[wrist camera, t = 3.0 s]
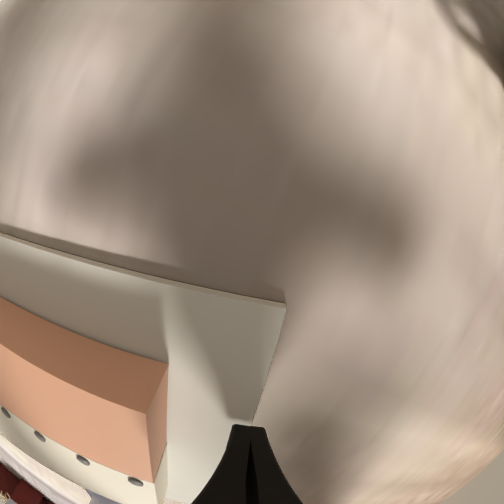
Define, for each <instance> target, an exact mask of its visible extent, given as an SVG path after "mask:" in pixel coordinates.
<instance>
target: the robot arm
mask: <svg viewBox="0 0 504 504" xmlns="http://www.w3.org/2000/svg"><path fill="white" fill-rule="evenodd" d="M85 489H86V488H85ZM86 491H87V492H88V494H89V495H90V497H91V498H92V499H91V501H90V503H89V504H121V503H118V502H116V501H113V500H111V499H108V498H106V497H103V496H101V495H99V494H97V493H94V492H92V491H90V490H88V489H86ZM6 504H17V503H16V502H14V501H13V500H12V499H10V498H9V499H8V500H7V502H6ZM191 504H303V503H302V502H301V501H300V499H299V498H298V497H297V495H296V494H295V492H294V491H293V489H292V488H291V486H290V485H289V483H288V481H287V480H286V478H285V476H284V475H283V473H282V471H281V469H280V467H279V465H278V463H277V460H276V458H275V456H274V454H273V451H272V449H271V446H270V443H269V441H268V438H267V434H266V431H265V429H264V428H262V427H254V426H246V425H240V424H234V425H232V428H231V432H230V435H229V439H228V442H227V446H226V450H225V452H224V454H223V457H222V459H221V461H220V463H219V464H218V466H217V468H216V470H215V471H214V473H213V475H212V476H211V478H210V479H209V481H208V482H207V484H206V485H205V487H204V488H203V489H202V491H201V492H200V493H199V495H198V496H197V497H196V498H195V500H194V501H193V502H192V503H191Z"/></svg>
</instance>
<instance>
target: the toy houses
mask: <svg viewBox="0 0 504 504" xmlns="http://www.w3.org/2000/svg"><path fill="white" fill-rule="evenodd" d="M0 494H2V495H1V496H4V497H5V498H4V500H5V499H6V498H7V500H8V499H9V498H10V499H12V500H13V501H14V502H16V503H17V504H53V503H52V502H50V501H49V502H48V501H47V500H46V499H44V498H43V496H44V495H42V494H41V493H40V492H38V491H37V490H35V489H34V488H33V487H32V486H30V485H29V484H28V483H26V482H25V481H24V480H23V479H22V480H21V481H20V480H19V479H18V478H17V477H16V476H14V475H13V474H12V473H11V472H10V471H9V470H8V469H6V468H5V467H4V466H3V465H2V464H1V463H0ZM1 496H0V497H1ZM2 498H3V497H2ZM0 499H1V498H0ZM5 502H6V501H5ZM3 503H4V502H3Z"/></svg>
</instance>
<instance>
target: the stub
mask: <svg viewBox="0 0 504 504" xmlns="http://www.w3.org/2000/svg"><path fill="white" fill-rule="evenodd" d="M168 369H169V364H165V363H162V362H158V361H155V360H151V359H148V358H144V357H141V356H138V355H135V354H131V353H128V352H125V351H122V350H119V349H116V348H113V347H110V346H108V345H105V344H102V343H99V342H97V341H94V340H91V339H89V338H86V337H84V336H81V335H79V334H76V333H74V332H71V331H69V330H66V329H64V328H62V327H60V326H57V325H55V324H53V323H51V322H48V321H46V320H44V319H42V318H40V317H38V316H36V315H34V314H32V313H30V312H28V311H26V310H24V309H22V308H20V307H18V306H16V305H14V304H12V303H11V302H9V301H7V300H5V299H3V298H2V297H0V404H1V405H2V406H4V407H5V408H6V409H7V410H9V411H10V412H11V413H13V414H14V415H15V416H17V417H18V418H20V419H21V420H22V421H24V422H25V423H27V424H28V425H30V426H31V427H33V428H34V429H36V430H38V431H39V432H41V433H42V434H44V435H46V436H47V437H49V438H51V439H52V440H54V441H56V442H58V443H59V444H61V445H63V446H65V447H67V448H69V449H70V450H72V451H74V452H76V453H78V454H80V455H82V456H84V457H87V458H89V459H91V460H93V461H95V462H97V463H100V464H102V465H104V466H107V467H109V468H112V469H114V470H117V471H119V472H122V473H125V474H128V475H130V476H133V477H136V478H139V479H142V480H145V481H149V482H152V483H153V481H154V478H155V475H156V472H157V469H158V465H159V462H160V459H161V456H162V453H163V450H164V447H165V444H166V431H167V389H168Z"/></svg>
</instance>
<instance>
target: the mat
mask: <svg viewBox="0 0 504 504" xmlns="http://www.w3.org/2000/svg"><path fill="white" fill-rule="evenodd" d="M0 297H2V298H3V299H5V300H7V301H9V302H11V303H12V304H14V305H16V306H18V307H20V308H22V309H24V310H26V311H28V312H30V313H32V314H34V315H36V316H38V317H40V318H42V319H44V320H46V321H48V322H51V323H53V324H55V325H57V326H60V327H62V328H64V329H66V330H69V331H71V332H74V333H76V334H79V335H81V336H84V337H86V338H89V339H91V340H94V341H97V342H99V343H102V344H105V345H108V346H110V347H113V348H116V349H119V350H122V351H125V352H128V353H131V354H135V355H138V356H141V357H144V358H148V359H151V360H155V361H158V362H162V363H165V364H169V369H168V389H167V431H166V443H167V460H168V487H167V491H166V495H165V499H167V500H171V501H176V502H180V503H184V504H191V503H192V502H193V501H194V500H195V498H196V497H197V496H198V495H199V493H200V492H201V491H202V489H203V488H204V487H205V485H206V484H207V482H208V481H209V479H210V478H211V476H212V475H213V473H214V471H215V470H216V468H217V466H218V464H219V463H220V461H221V459H222V457H223V454H224V452H225V450H226V446H227V442H228V439H229V435H230V432H231V428H232V425H234V424H240V425H246V426H251V424H252V421H253V418H254V415H255V412H256V409H257V406H258V403H259V400H260V397H261V394H262V391H263V388H264V385H265V382H266V378H267V375H268V372H269V369H270V366H271V362H272V359H273V356H274V352H275V349H276V346H277V342H278V339H279V335H280V332H281V328H282V325H283V321H284V318H285V314H286V310H287V307H286V304H285V303H280V302H274V301H269V300H264V299H258V298H253V297H248V296H243V295H238V294H233V293H228V292H223V291H218V290H213V289H209V288H204V287H199V286H195V285H190V284H186V283H181V282H177V281H173V280H168V279H164V278H160V277H156V276H151V275H147V274H143V273H139V272H135V271H131V270H127V269H123V268H119V267H116V266H112V265H108V264H104V263H100V262H97V261H93V260H89V259H86V258H82V257H79V256H75V255H72V254H68V253H65V252H61V251H58V250H54V249H51V248H48V247H44V246H41V245H38V244H35V243H32V242H28V241H25V240H22V239H19V238H16V237H13V236H10V235H7V234H4V233H1V232H0Z"/></svg>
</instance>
